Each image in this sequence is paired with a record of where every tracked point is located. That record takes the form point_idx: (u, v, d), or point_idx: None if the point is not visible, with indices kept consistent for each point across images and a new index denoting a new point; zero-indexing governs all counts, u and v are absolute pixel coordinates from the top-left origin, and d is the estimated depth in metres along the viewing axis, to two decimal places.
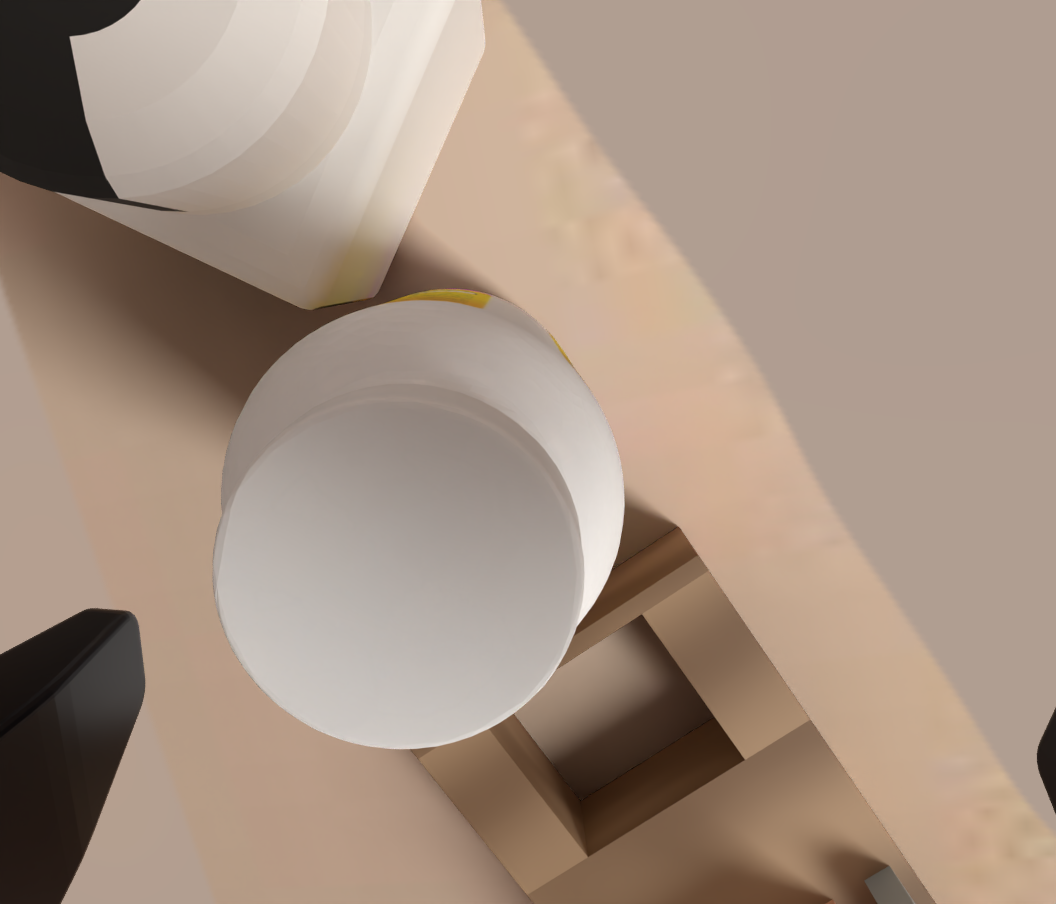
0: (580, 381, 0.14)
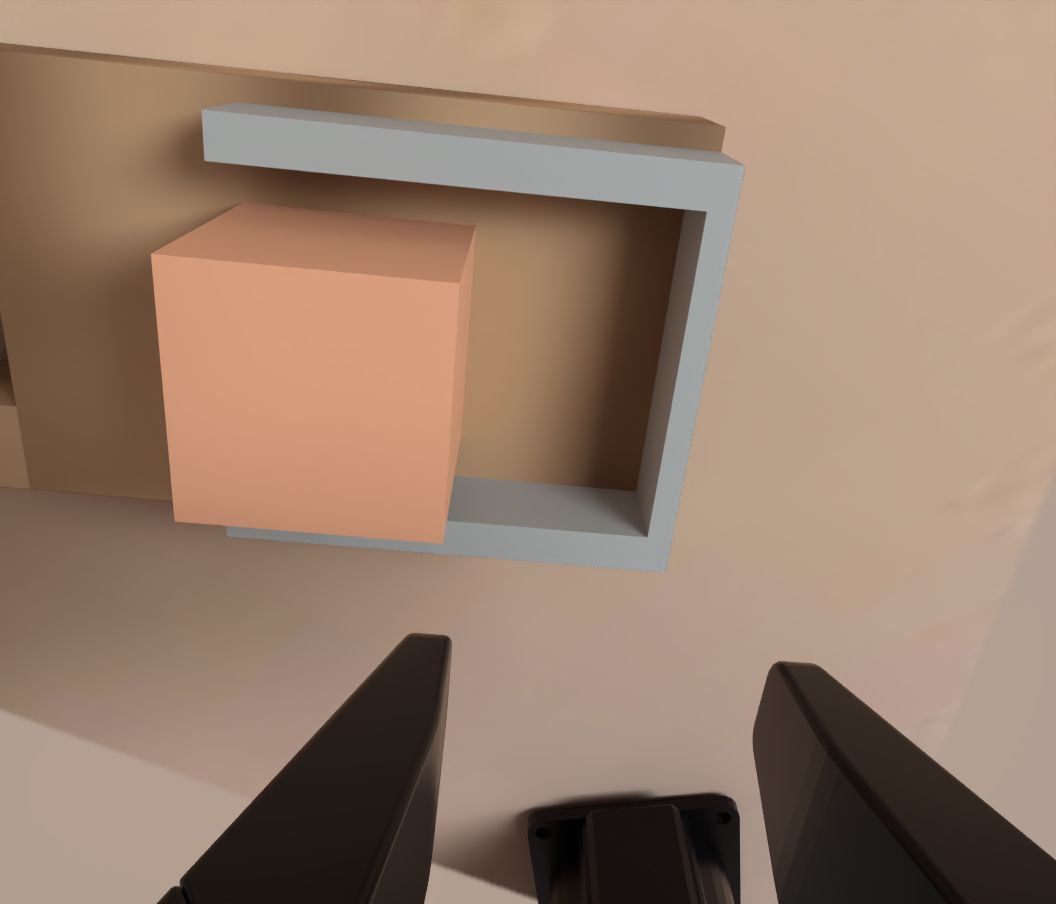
0: None
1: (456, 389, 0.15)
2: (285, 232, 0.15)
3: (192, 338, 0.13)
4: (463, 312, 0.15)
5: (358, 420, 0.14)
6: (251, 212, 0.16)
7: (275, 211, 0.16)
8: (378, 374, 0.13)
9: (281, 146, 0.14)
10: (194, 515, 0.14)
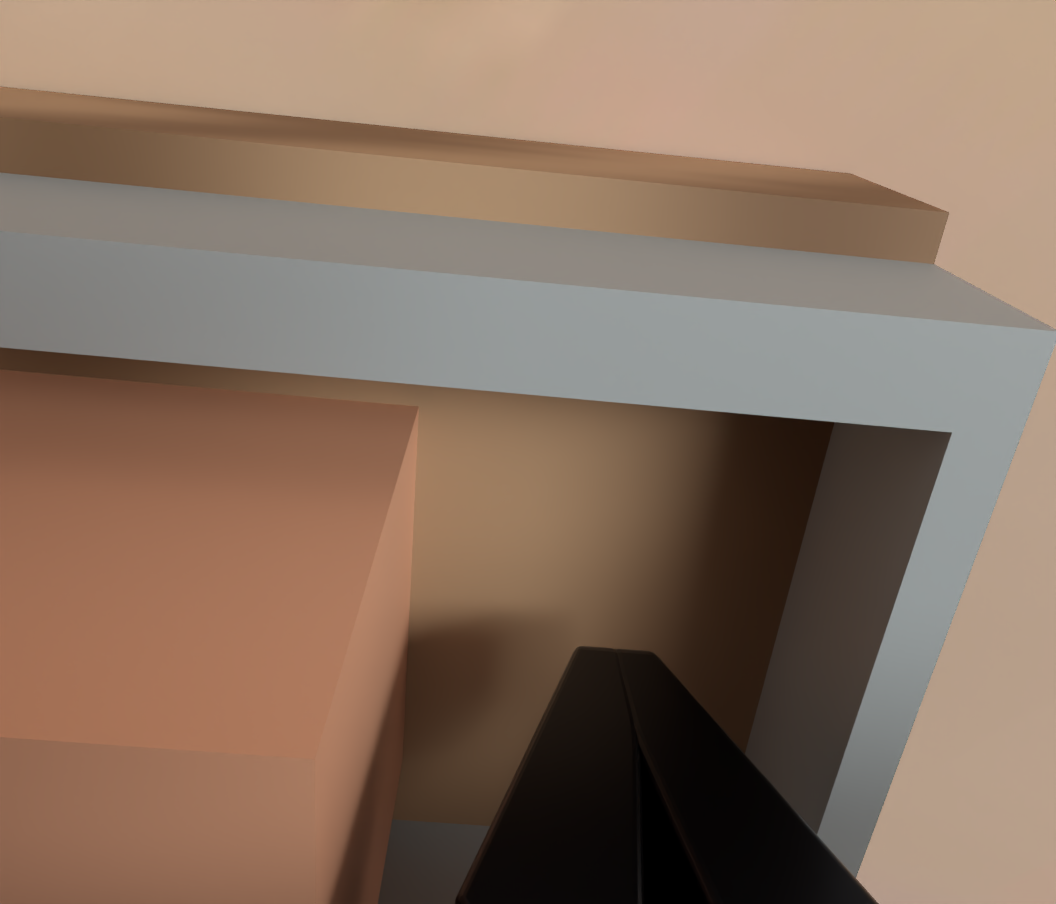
0: None
1: (353, 860, 0.06)
2: None
3: None
4: (371, 670, 0.06)
5: None
6: None
7: None
8: None
9: None
10: None
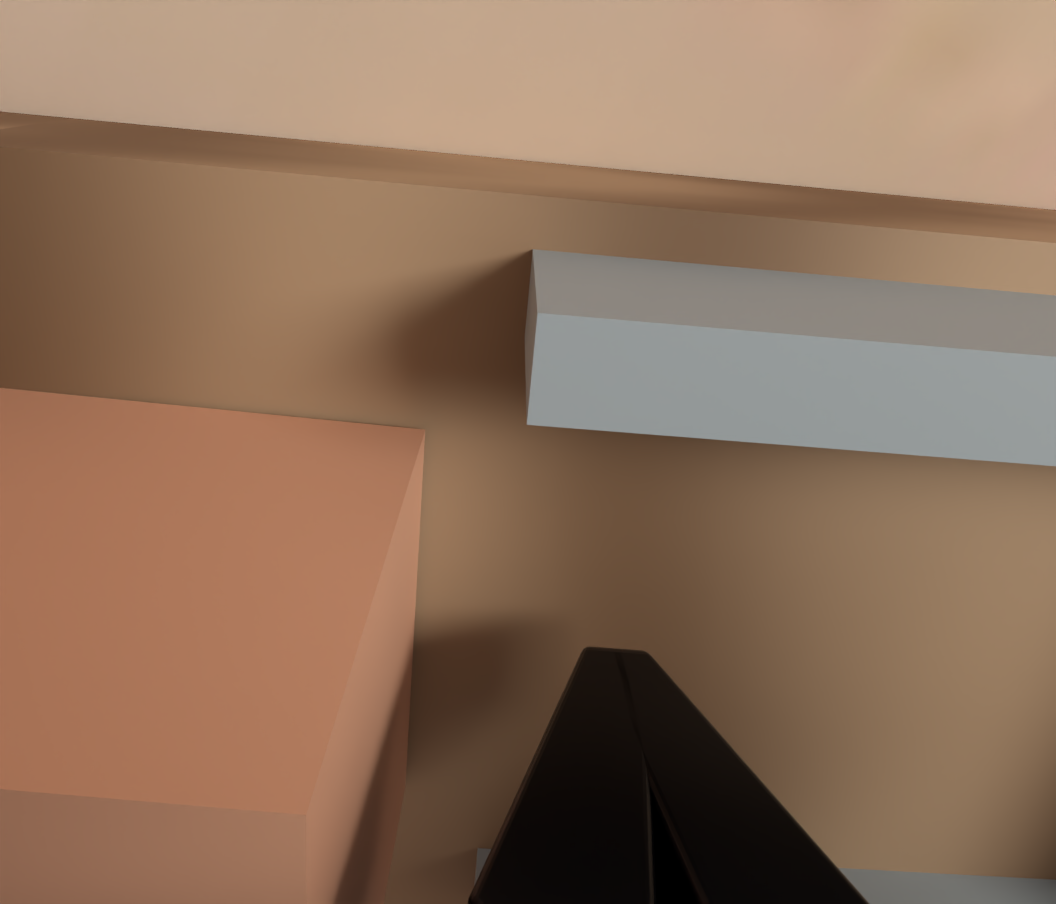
0: None
1: None
2: None
3: None
4: (371, 706, 0.06)
5: None
6: None
7: None
8: None
9: (719, 392, 0.06)
10: None
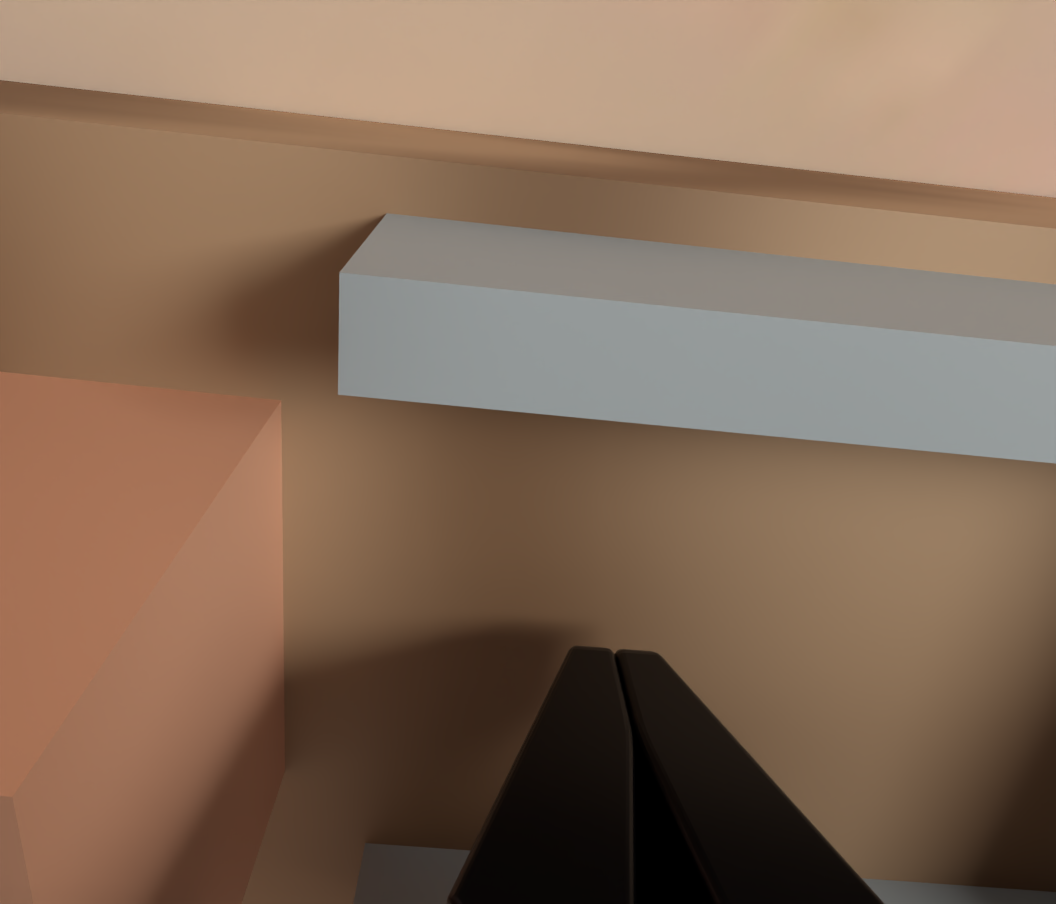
0: None
1: (155, 892, 0.06)
2: None
3: None
4: (180, 685, 0.06)
5: None
6: None
7: None
8: None
9: (542, 362, 0.05)
10: None
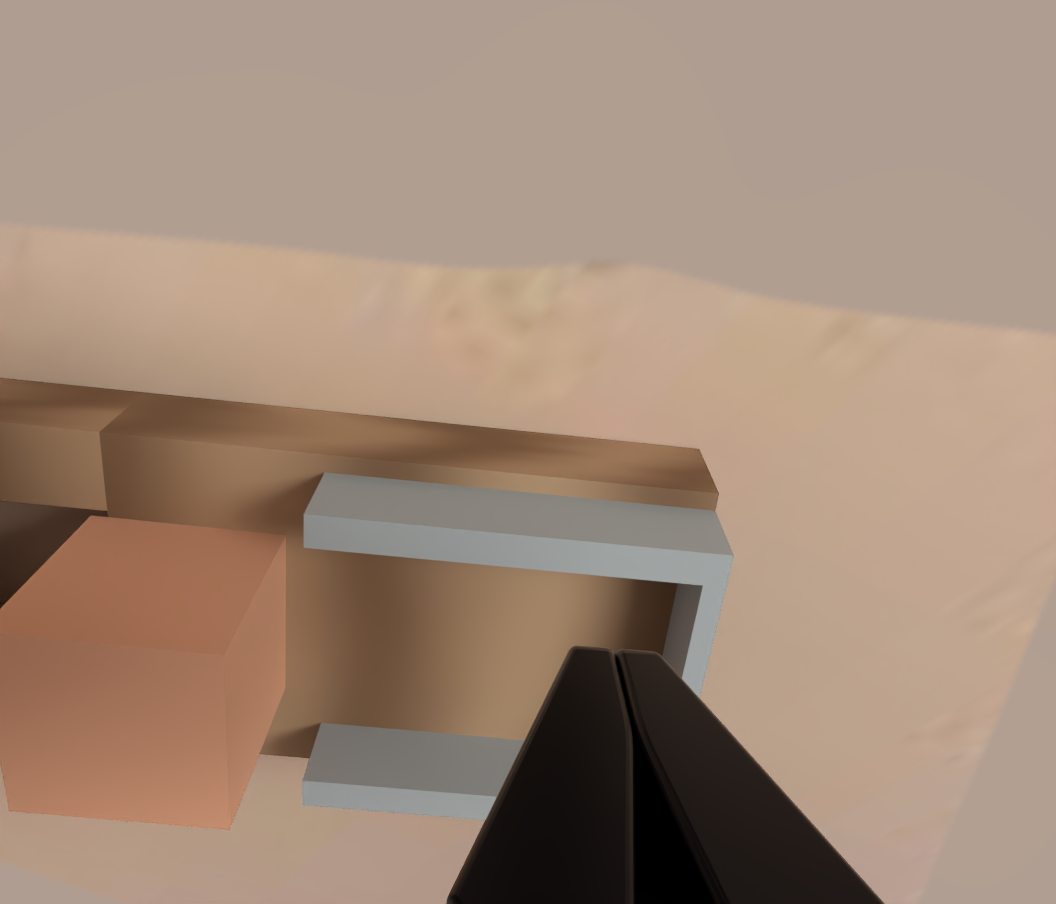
0: None
1: (244, 702, 0.18)
2: (108, 573, 0.18)
3: (14, 687, 0.16)
4: (253, 638, 0.18)
5: (152, 744, 0.17)
6: (92, 535, 0.19)
7: (114, 530, 0.20)
8: (165, 714, 0.17)
9: (365, 539, 0.18)
10: (25, 806, 0.18)
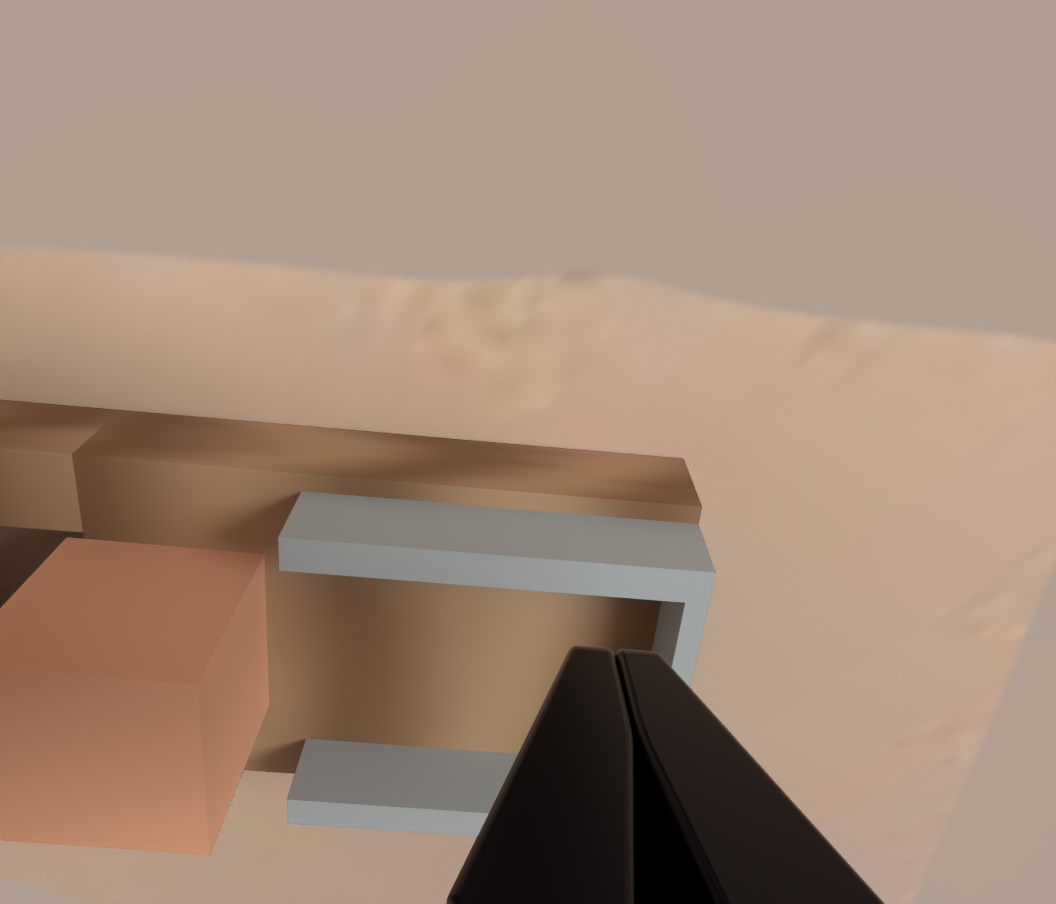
0: None
1: (223, 727, 0.18)
2: (82, 598, 0.18)
3: None
4: (230, 662, 0.18)
5: (128, 772, 0.17)
6: (67, 558, 0.19)
7: (90, 552, 0.19)
8: (140, 743, 0.17)
9: (341, 560, 0.18)
10: (3, 835, 0.18)
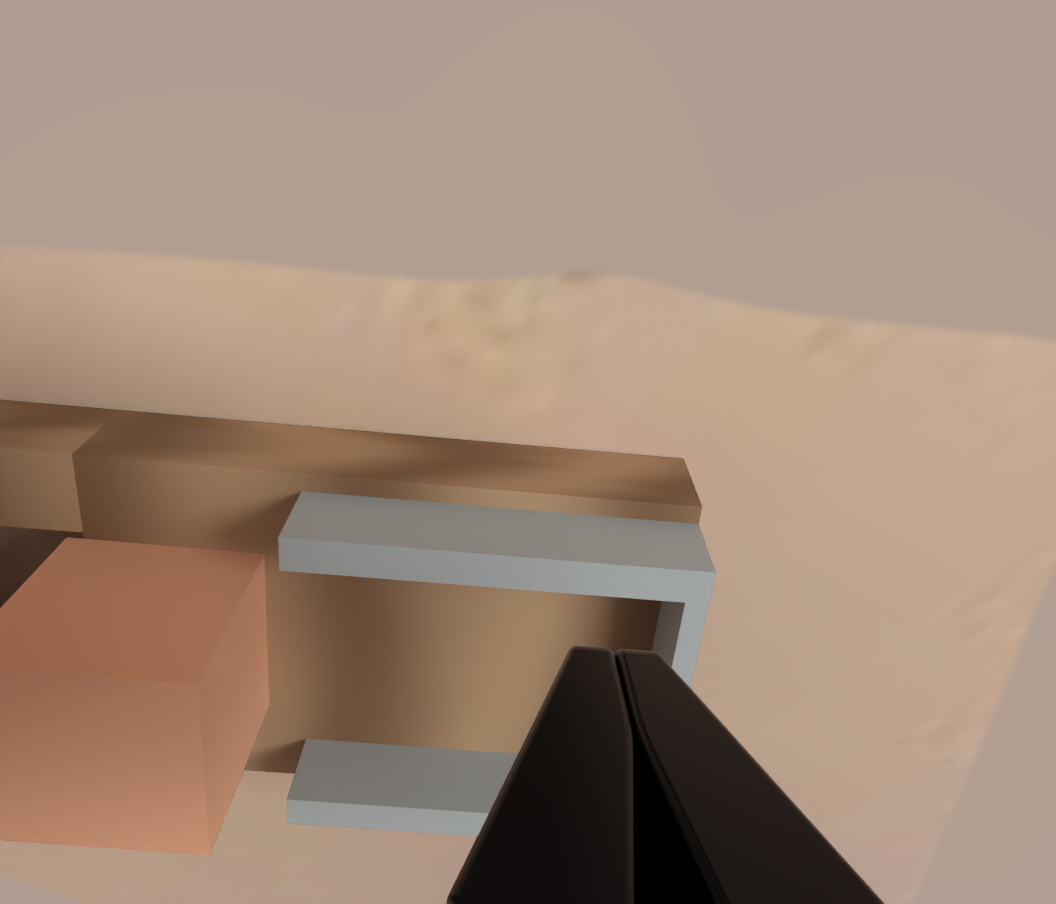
0: None
1: (223, 727, 0.18)
2: (82, 598, 0.18)
3: None
4: (230, 662, 0.18)
5: (128, 772, 0.17)
6: (67, 558, 0.19)
7: (90, 552, 0.19)
8: (140, 743, 0.17)
9: (341, 560, 0.18)
10: (3, 835, 0.18)
